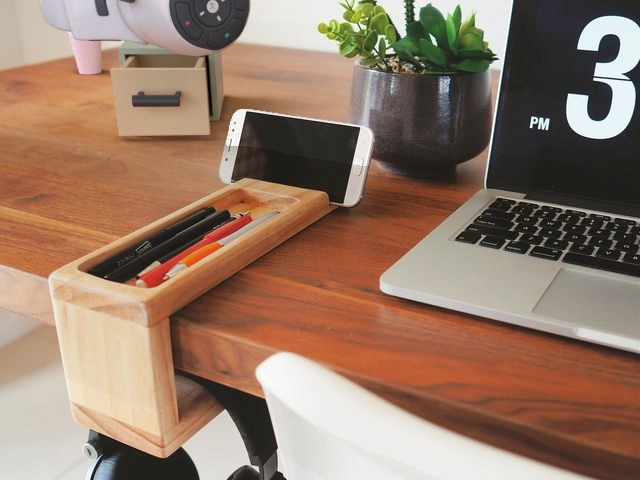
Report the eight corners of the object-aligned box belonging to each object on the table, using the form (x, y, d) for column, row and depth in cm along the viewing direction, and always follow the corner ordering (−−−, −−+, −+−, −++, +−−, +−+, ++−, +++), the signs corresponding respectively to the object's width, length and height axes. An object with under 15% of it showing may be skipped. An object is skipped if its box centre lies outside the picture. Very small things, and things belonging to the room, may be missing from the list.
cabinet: (219, 122, 102) (213, 48, 97) (127, 123, 100) (117, 48, 96) (224, 97, 115) (219, 31, 110) (142, 98, 113) (134, 31, 109)
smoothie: (87, 78, 124) (74, -8, 118) (63, 73, 127) (49, -11, 121) (117, 73, 129) (106, -11, 123) (93, 68, 132) (82, -14, 126)
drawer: (207, 145, 89) (202, 77, 85) (112, 146, 88) (102, 77, 84) (216, 108, 105) (211, 50, 101) (135, 109, 104) (128, 49, 100)
